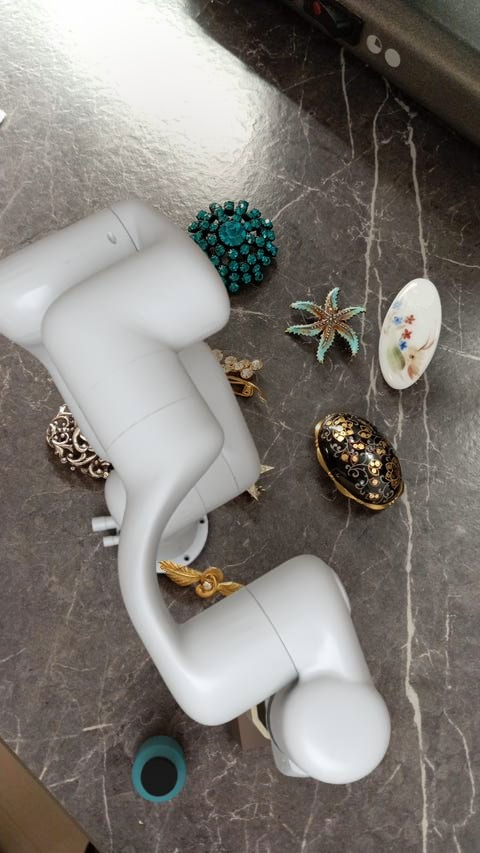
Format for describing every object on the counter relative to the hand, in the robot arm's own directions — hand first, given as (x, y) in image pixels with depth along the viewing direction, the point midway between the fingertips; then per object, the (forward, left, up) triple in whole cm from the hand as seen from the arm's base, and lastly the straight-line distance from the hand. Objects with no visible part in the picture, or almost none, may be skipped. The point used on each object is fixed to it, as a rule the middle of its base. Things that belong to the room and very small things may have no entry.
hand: (287, 706), depth 90 cm
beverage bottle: (-14, -6, -32) cm, 35 cm away
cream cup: (0, 0, -11) cm, 11 cm away
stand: (0, 0, -32) cm, 32 cm away
